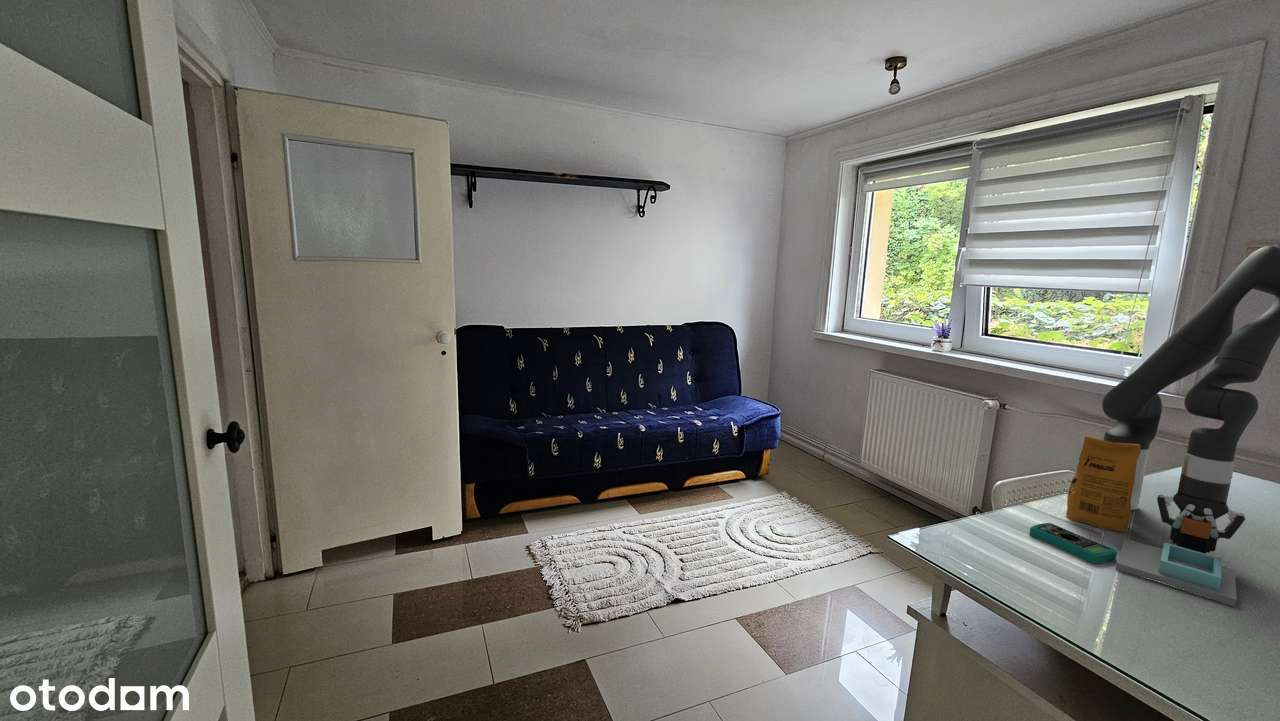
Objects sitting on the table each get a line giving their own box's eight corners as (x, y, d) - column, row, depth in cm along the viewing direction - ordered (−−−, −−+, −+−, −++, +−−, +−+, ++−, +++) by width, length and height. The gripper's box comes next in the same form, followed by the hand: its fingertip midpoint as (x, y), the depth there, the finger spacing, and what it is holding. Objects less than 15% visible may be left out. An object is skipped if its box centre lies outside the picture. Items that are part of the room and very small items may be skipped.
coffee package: (1066, 507, 141) (1079, 430, 138) (1128, 523, 133) (1143, 441, 129) (1062, 519, 134) (1075, 437, 131) (1127, 536, 126) (1143, 449, 122)
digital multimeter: (1046, 530, 129) (1047, 519, 128) (1117, 561, 115) (1119, 549, 114) (1025, 535, 126) (1027, 524, 126) (1096, 567, 112) (1098, 554, 112)
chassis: (1115, 569, 111) (1118, 551, 110) (1124, 544, 121) (1127, 528, 121) (1235, 607, 98) (1239, 587, 98) (1233, 576, 109) (1237, 558, 108)
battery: (1175, 555, 117) (1184, 514, 115) (1175, 545, 122) (1183, 505, 120) (1204, 563, 114) (1213, 521, 112) (1203, 552, 119) (1211, 511, 117)
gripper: (1159, 470, 118) (1146, 540, 120) (1256, 490, 107) (1239, 566, 110) (1161, 463, 123) (1149, 530, 125) (1254, 481, 112) (1238, 554, 115)
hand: (1191, 546), depth 117 cm, fingers closed on battery, 4 cm apart
